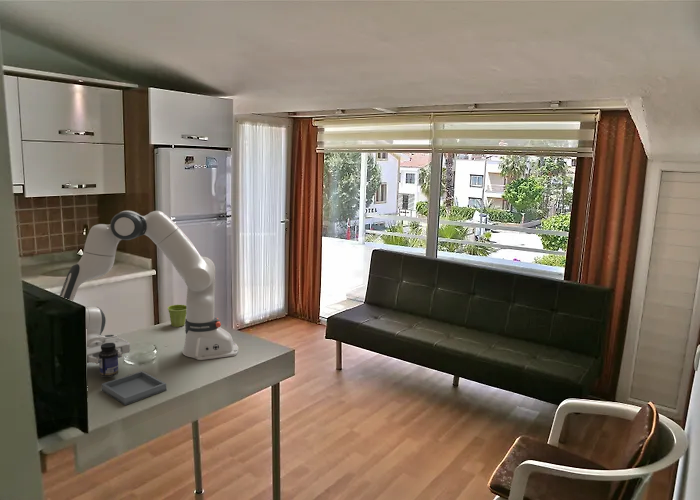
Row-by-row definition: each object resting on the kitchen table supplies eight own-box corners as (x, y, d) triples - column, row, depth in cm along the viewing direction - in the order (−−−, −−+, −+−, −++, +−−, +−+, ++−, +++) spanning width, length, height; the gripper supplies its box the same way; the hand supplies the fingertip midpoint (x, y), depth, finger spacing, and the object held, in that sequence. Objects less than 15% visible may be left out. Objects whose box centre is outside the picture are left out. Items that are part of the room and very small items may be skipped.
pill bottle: (121, 371, 187) (120, 342, 185) (113, 378, 181) (112, 348, 179) (104, 369, 187) (104, 341, 185) (96, 376, 181) (95, 347, 179)
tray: (142, 377, 186) (142, 370, 185) (166, 390, 177) (166, 383, 176) (101, 390, 174) (101, 383, 174) (125, 405, 165) (124, 398, 165)
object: (190, 321, 247) (189, 304, 246) (186, 328, 238) (186, 310, 236) (169, 321, 246) (169, 304, 244) (165, 328, 237) (165, 310, 235)
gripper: (62, 346, 183) (78, 357, 174) (119, 333, 198) (136, 343, 189) (63, 363, 184) (79, 375, 175) (120, 348, 199) (137, 359, 190)
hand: (109, 358), depth 182 cm, fingers closed on pill bottle, 6 cm apart
